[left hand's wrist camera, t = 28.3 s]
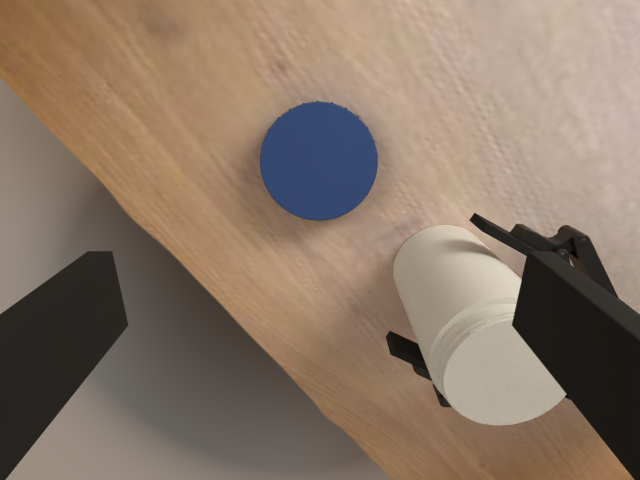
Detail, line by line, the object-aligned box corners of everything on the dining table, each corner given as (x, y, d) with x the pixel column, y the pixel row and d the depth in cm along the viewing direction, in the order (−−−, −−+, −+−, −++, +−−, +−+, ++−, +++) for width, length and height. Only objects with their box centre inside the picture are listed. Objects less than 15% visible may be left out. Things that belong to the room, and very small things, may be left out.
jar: (502, 278, 41) (609, 388, 26) (422, 323, 43) (478, 451, 28) (458, 206, 38) (550, 283, 23) (374, 258, 40) (408, 361, 25)
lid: (396, 173, 37) (400, 177, 35) (306, 234, 39) (306, 241, 37) (333, 75, 34) (333, 74, 32) (239, 147, 36) (234, 151, 34)
